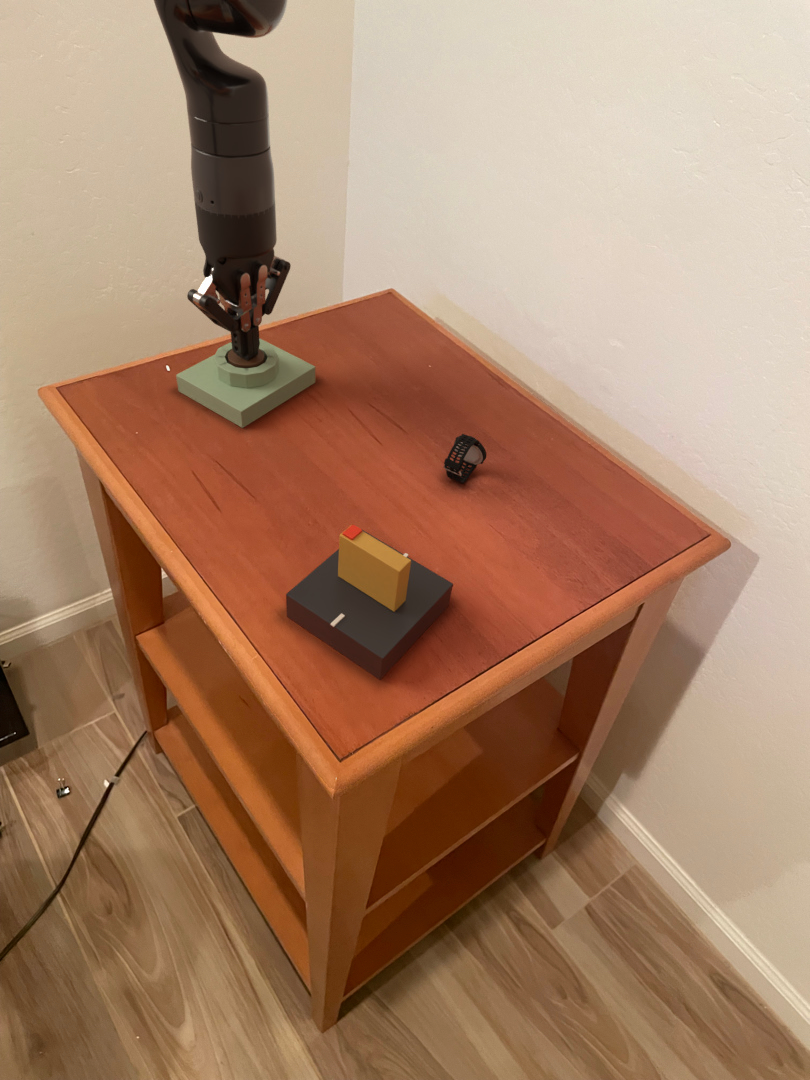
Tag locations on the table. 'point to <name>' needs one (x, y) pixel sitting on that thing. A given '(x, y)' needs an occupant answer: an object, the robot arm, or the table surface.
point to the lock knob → (373, 567)
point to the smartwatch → (464, 458)
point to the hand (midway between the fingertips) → (246, 355)
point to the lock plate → (367, 614)
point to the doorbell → (246, 383)
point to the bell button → (246, 364)
